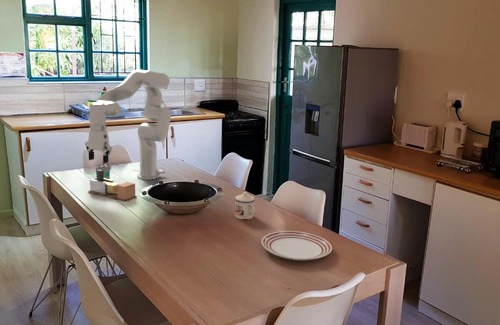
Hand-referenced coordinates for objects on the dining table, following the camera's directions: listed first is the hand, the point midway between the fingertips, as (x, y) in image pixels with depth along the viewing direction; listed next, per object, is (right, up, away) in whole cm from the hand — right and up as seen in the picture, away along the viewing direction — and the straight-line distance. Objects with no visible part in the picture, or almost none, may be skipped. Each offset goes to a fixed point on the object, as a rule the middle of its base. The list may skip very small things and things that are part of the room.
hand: (98, 161), depth 238 cm
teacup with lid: (+75, -26, -21) cm, 82 cm away
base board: (+7, -17, +1) cm, 19 cm away
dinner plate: (+95, -35, -54) cm, 114 cm away
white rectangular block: (+1, -15, +4) cm, 16 cm away
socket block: (+15, -19, -3) cm, 24 cm away
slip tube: (+3, -15, +2) cm, 15 cm away
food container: (-3, -12, +21) cm, 25 cm away
